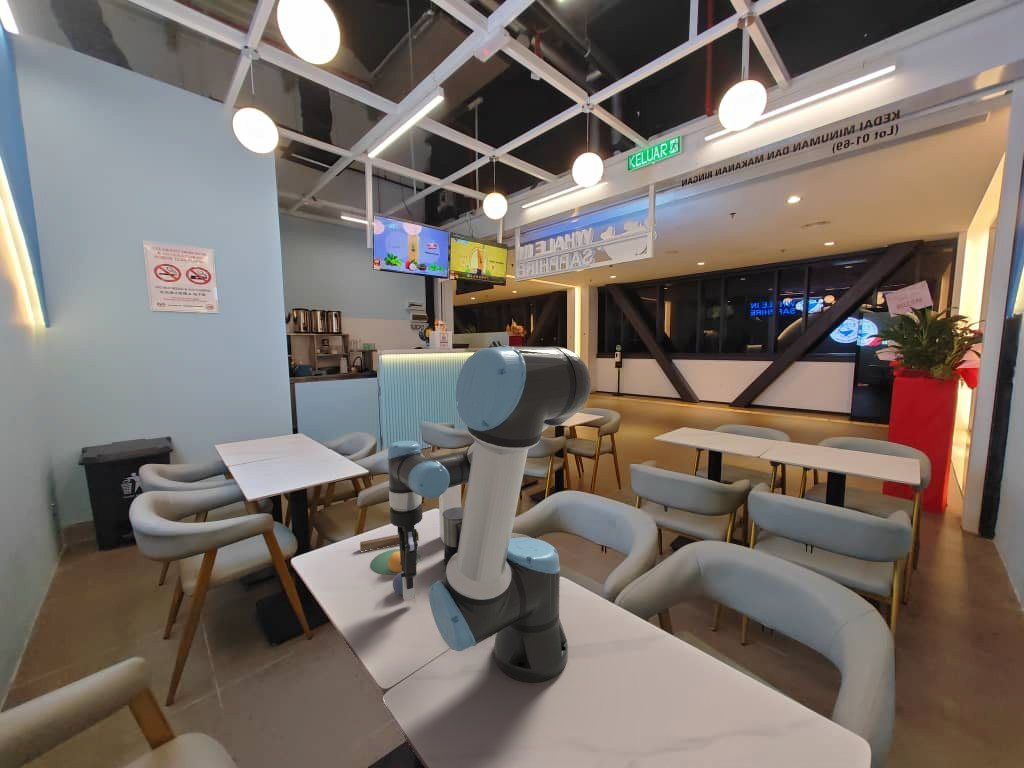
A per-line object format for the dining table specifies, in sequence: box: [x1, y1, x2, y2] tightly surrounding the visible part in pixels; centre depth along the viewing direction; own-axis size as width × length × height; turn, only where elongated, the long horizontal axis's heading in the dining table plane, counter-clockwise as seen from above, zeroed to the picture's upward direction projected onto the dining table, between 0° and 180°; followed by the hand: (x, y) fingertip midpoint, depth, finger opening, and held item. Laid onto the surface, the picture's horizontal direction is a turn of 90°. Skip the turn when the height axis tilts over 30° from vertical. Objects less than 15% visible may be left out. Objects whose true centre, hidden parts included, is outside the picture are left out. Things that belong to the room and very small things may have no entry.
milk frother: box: [442, 506, 465, 567], centre depth 118 cm, size 14×16×15 cm
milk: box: [438, 484, 462, 544], centre depth 131 cm, size 6×6×22 cm
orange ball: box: [388, 551, 402, 574], centre depth 112 cm, size 6×6×6 cm
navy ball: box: [392, 571, 404, 596], centre depth 102 cm, size 6×6×6 cm
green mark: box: [370, 548, 420, 575], centre depth 118 cm, size 14×14×1 cm
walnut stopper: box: [359, 530, 420, 552], centre depth 128 cm, size 2×18×2 cm, turn 115°
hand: (409, 598), depth 97 cm, fingers closed
